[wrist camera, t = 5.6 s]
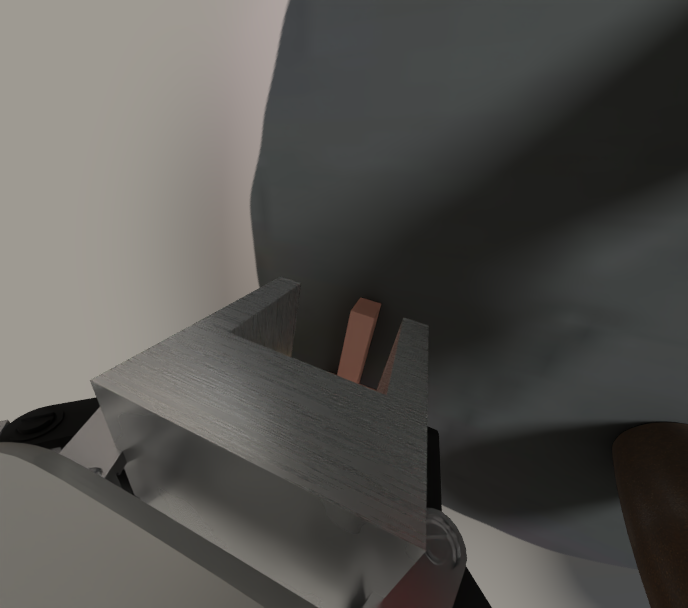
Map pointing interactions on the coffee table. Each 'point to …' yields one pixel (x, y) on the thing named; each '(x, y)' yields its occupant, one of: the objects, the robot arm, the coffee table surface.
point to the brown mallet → (358, 339)
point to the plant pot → (656, 507)
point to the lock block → (279, 448)
